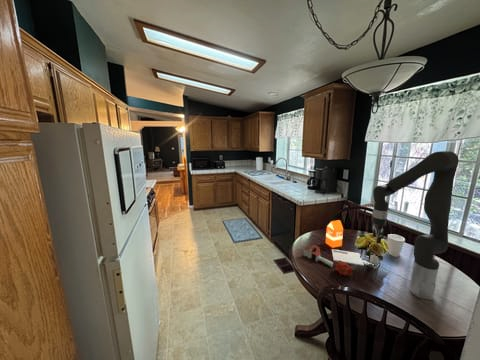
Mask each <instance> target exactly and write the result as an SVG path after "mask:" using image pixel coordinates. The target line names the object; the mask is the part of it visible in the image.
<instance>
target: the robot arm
mask: <svg viewBox="0 0 480 360" xmlns="http://www.w3.org/2000/svg"><path fill="white" fill-rule="evenodd" d="M459 160H460V159H459V156H458V155H457V153H455V152H454V151H450V150H440V151H434V152H431V153H430V154H428V155H427V156H426V157H424V158H423V159H422V160H421V161H419V162H418V163H417V164H415V165H413V166H412V167H411V168H409V169H407V170H406V171H405V172H402V173H401V174H399V175H397V176H394V177H393V178H391V179H390V180H389V181H388V182H387V183H385V184H381V185H377V186H375V187H374V188H373V193H372V194H373V200H374V205H373V209H372V214H371V215H372V216H371V223H372V226H371V229H372V235H371V236H372V238H376V240H375V241H376V242H375V243H376V244H379V245H380V244H381V243H382V240H383V239H384V236H385V235H384V234H385V229H384V228H383V226H386V225H387V219H388V214H389V213H388V211H389V201H388V200H386V197H389V196H392V195H393V194H395V193H397V192H398V191H400V190H402V189H404V188H407V187H409V186H410V185H413V184H414V183H415V182H416V181H418V180H419V179H420V178H422V177H424V176H426V175H429V174H432V173H433V180H432V182H431V184H430V186H429V187H428V190H427V191H426V193H425V196H424V204H423V211H424V213H425V215H426V217H427V219H428V221H429V225H430V229H429V233H428V234H419V235H417V237H416V238H415V240H414V245H413V246H414V247H413V257H414V260H413V265H412V272H411V276H410V277H411V278H410V282H409V288H408V289H409V292H410V293H412V294H413V295H414V296H416V298H419V299H424V300H428V301H433V300H434V294H435V290H436V286H437V285H436V282H437V277H438V272H439V268H440V263H439V261H438V260H437V259H435V258H434V255H435V254H436V255H437V254H438V255H439V254H443V253H445V252H447V250H448V247H449V222H450V221H449V220H450V214H451V207H452V197H453V191H454V181H455V176H456V173H457V170H458V166H459Z"/></svg>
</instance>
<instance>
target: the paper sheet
mask: <svg viewBox="0 0 480 360" xmlns="http://www.w3.org/2000/svg"><path fill="white" fill-rule="evenodd" d="M331 254H332V259H333V260H332V262H337V261H339V260H340V261H342V262H345V263H346V264H349V265H350V264H351V265H356V266H361V267H364V266H365V264H364V261H363V262H361V261H359V258H360V256H361V254H360V252H353V251H347V250H339V249H335V248H331Z"/></svg>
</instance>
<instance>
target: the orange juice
mask: <svg viewBox="0 0 480 360" xmlns="http://www.w3.org/2000/svg"><path fill="white" fill-rule="evenodd" d="M325 232H326V233H325V244H326V245H328V246H329V247H330V248H331V249H335V248H338V247H343V246H342V245H343V236H344V235H343V234H344V227H343V224H342V221H341V220H340V219H337V220H332V221H330V222H329V223H328V224H327V226H326V231H325Z"/></svg>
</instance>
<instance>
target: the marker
mask: <svg viewBox="0 0 480 360" xmlns="http://www.w3.org/2000/svg"><path fill="white" fill-rule="evenodd" d="M370 262H371V263H372V264H374V265H375V264H376V265H377V262H378V256H375V255H371V254H370V259H369V263H370Z"/></svg>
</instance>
